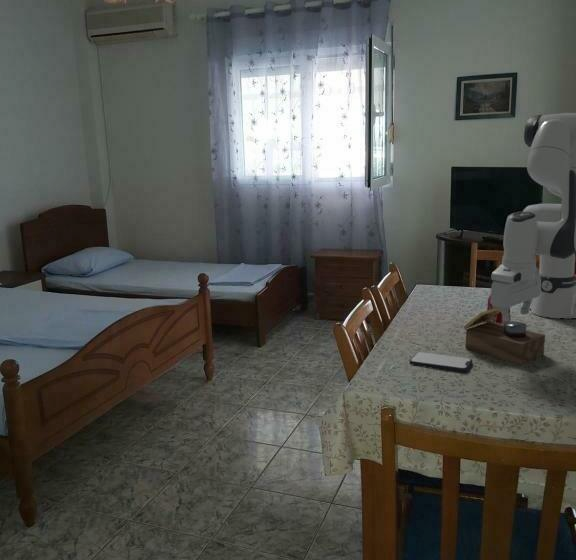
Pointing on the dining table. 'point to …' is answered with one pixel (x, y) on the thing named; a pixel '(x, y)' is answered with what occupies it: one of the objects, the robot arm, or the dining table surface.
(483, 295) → the dining table surface
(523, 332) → the dark grey knob
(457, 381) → the dining table surface
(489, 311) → the tan flat lid
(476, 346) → the block
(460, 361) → the smartphone
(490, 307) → the soda can
